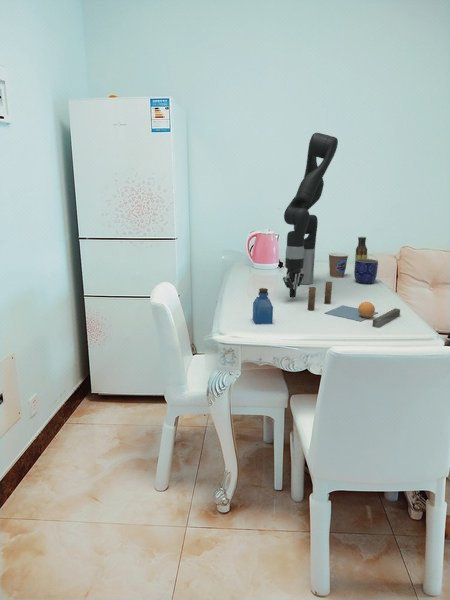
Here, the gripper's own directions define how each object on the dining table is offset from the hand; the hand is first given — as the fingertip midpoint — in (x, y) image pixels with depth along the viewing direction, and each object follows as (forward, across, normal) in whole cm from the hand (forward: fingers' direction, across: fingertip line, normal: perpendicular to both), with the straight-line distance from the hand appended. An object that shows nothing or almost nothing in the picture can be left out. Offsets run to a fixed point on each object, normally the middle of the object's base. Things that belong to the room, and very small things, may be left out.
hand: (292, 297), depth 195 cm
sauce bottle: (+2, -75, -5) cm, 75 cm away
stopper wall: (+2, 0, +41) cm, 41 cm away
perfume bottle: (+2, +32, +8) cm, 33 cm away
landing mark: (+2, 0, +27) cm, 27 cm away
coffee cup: (+2, -58, -10) cm, 59 cm away
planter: (+2, -55, +7) cm, 55 cm away
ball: (-2, +1, +33) cm, 33 cm away
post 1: (+2, +7, +13) cm, 15 cm away
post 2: (+2, -7, +13) cm, 15 cm away
